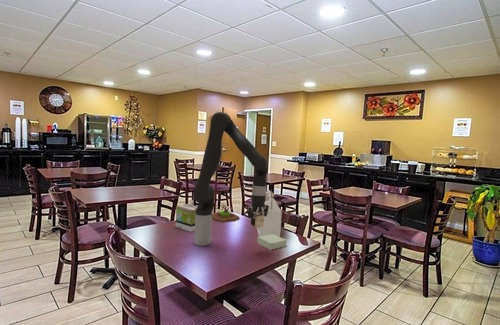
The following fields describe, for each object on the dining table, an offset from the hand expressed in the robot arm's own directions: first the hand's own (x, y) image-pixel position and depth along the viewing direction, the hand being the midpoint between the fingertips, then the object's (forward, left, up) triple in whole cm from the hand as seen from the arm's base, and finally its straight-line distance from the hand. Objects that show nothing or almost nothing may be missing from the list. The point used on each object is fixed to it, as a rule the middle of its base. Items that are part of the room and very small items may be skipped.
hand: (257, 224), depth 157 cm
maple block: (0, 0, -1) cm, 1 cm away
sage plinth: (-3, +14, -15) cm, 21 cm away
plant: (-63, +19, -16) cm, 68 cm away
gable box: (-22, +27, -15) cm, 38 cm away
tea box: (-54, -15, -15) cm, 58 cm away
